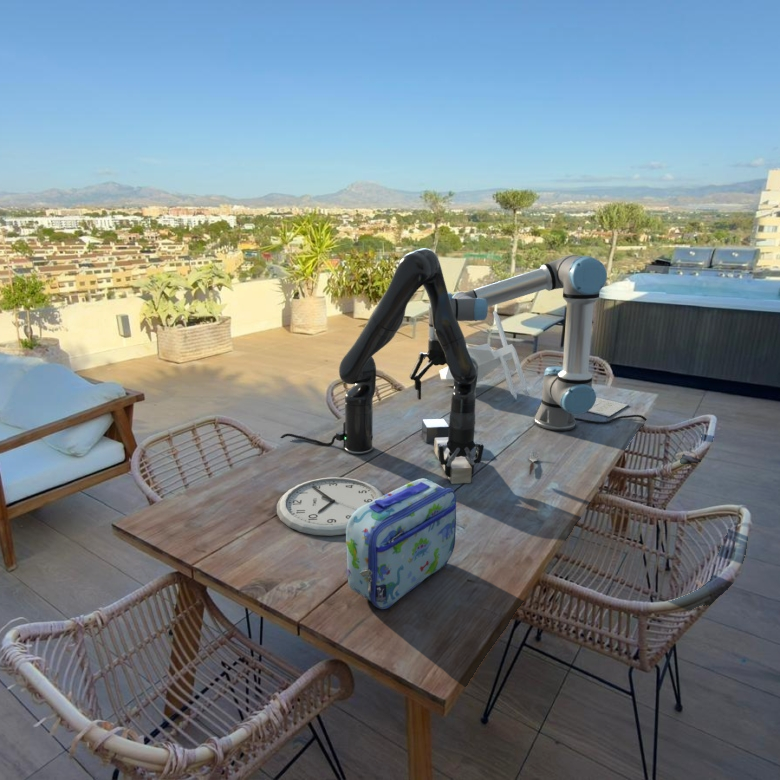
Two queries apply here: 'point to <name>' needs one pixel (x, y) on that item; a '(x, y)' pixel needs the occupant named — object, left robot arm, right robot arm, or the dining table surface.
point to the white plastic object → (492, 361)
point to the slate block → (434, 429)
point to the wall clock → (324, 504)
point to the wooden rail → (455, 464)
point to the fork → (533, 461)
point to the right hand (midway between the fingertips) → (437, 397)
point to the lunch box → (400, 540)
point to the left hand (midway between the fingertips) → (458, 475)
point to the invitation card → (606, 407)
